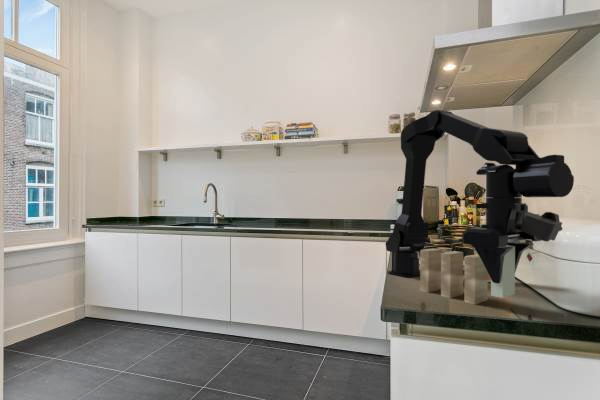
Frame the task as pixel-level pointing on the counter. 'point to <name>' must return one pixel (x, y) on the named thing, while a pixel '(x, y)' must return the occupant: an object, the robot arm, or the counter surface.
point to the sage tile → (506, 277)
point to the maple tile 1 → (430, 270)
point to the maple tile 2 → (451, 274)
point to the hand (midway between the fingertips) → (502, 281)
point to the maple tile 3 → (475, 280)
